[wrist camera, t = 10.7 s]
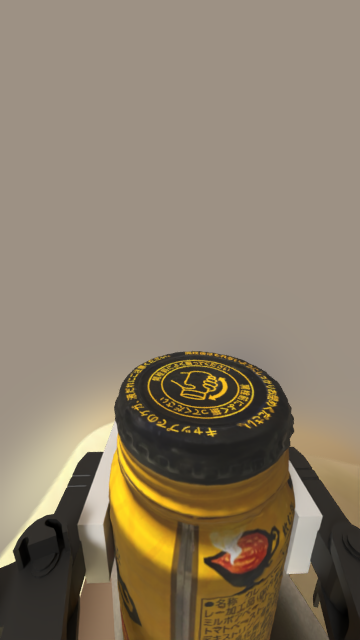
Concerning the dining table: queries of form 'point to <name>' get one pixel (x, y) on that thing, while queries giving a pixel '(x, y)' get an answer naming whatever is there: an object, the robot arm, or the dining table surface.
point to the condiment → (204, 504)
